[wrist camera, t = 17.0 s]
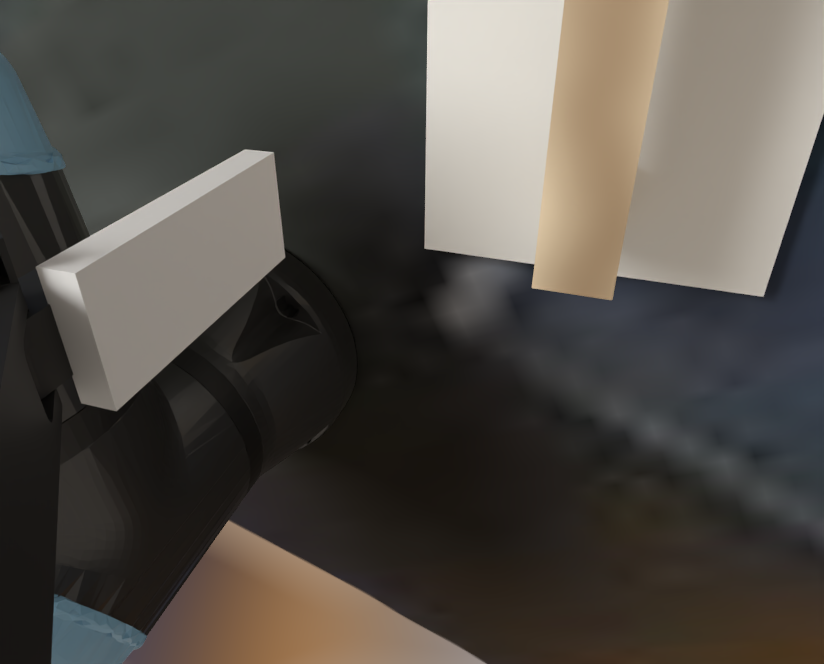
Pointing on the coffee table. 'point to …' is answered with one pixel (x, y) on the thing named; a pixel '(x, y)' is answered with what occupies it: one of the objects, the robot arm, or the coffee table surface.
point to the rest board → (662, 141)
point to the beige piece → (595, 141)
